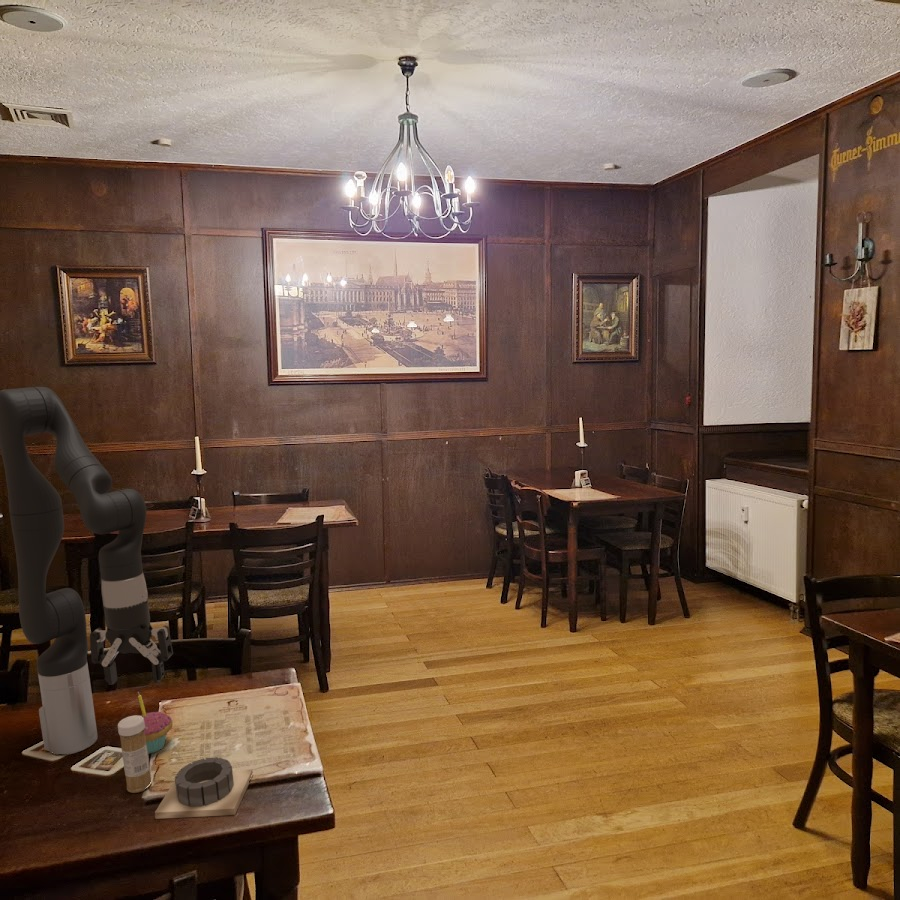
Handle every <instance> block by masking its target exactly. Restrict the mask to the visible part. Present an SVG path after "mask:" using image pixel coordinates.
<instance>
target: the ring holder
mask: <svg viewBox="0 0 900 900" xmlns="http://www.w3.org/2000/svg"><path fill="white" fill-rule="evenodd" d="M252 773H254V772H253V769H252V768H250V769H233V766H232V764H231V763H230V761H229V760H228V759H225V758H222V757H217V756H216V757H205V758H202V759H197V760H195V761H192V762H190V763H188V764H186V765H184V766H183V767H181V768H180V770H178V772H177V774H176V775H175V777H174V781H173V783H172V784H171V786H170V788H169V789H168V791H167V792H166V794H165V795H164V797H163V798H162V800H161V802H160V803H159V805H158V807H157V808H156V810H155V811H154V817H155V819H156V820H157V819H158V820H159V819H161V820H162V819H179V818H181V819H182V818H197V817H198V818H201V817H219V816H221V817H222V816H223V817H224V816H235V815H236V813H237V811H238V809H239V807H240V805H241V802H242V800H243V798H244V796H245V793H246V791H247V789H248V787H249V785H250V783H249V780H250V778H251V775H252ZM251 779H252V778H251Z"/></svg>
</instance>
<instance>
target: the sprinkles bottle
mask: <svg viewBox="0 0 900 900" xmlns="http://www.w3.org/2000/svg"><path fill="white" fill-rule="evenodd" d="M144 730H145V723H144V718H143V717H142V716H140V715H130V716H126V717H124V718H122V719H121V720H119V722H118V723H117V731H118V735H119V737H120V738H119V739H120V746H121V753H122V754H121V755H122V762H123V763H122V764H123V768H124V774H125V781H126V791H127V792H129V793H132V794H136V793H137V794H138V793H141V792H144V791H145V790H144V789H145V788H146V787H147V786H148V785H149V784H150V782H151V779H152V775H151V770H150V766H151V765H150V764H151V763H150V758H149V757H150V755H149V754H148V751H147V744H146V738H145V731H144Z"/></svg>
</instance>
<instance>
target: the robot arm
mask: <svg viewBox="0 0 900 900" xmlns="http://www.w3.org/2000/svg"><path fill="white" fill-rule="evenodd" d="M46 433H49V434H50V435H52V436H53V437H54V438H55V439H56V447H55V452H54V456H53V457H54V462H53V463H54V464H53V465H54V468H55V472H56V474H57V475H58V477H59V478H60V480H61V481H62V482H63V484H64V485H65V487H66V488H68V489H69V491H70V492H71V494H72V495H73V497H74V499H75V501H76V504H77V506H78V509H79V513H80V516H81V521H82V523H83V524H84V526H85V528H86V529H87V530H88V531H89V532H91V533H93V534H96V535H106V534H110V533H111V534H112V533H113V532H118V533H117V536H116V538H115V539H113V540H112V541H111V542H109V543H107V544H105V545H104V546H102V547H101V548H100V549H99V552H98V562H99V570H100V578H101V580H100V581H101V597H102V605H103V612H104V619H105V620H104V622H105V623H104V624H105V626H106V630H103V629H102V628H101V627H97V628H96V629H95V630H94V631H92V632H91V633H90V634H89V642H90V654H91V655H90V658H91V663H92V664H99V665H101V666H102V667H103V674H104V679H105V682H106V683H107V684H108V685H109V686H110V685H114V684H116V683H117V681H118V673H117V666H116V665H117V664H116V661H115V658H116V657H117V655H118V654H119V653H120V654H121V655H125V654H129V653H130V654H139V653H140V654H141V655H142V656H143V657H145V658H146V659H148V660H149V661H150V662H151V670H152V678H153V684H159V683H160V682H161V681H162V679H163V678H164V677H165V666H164V665H165V664H164V662H167V661H169V659H170V658H171V657H172V656H173V655H174V650H173V646H172V640H171V635H170V634H171V632H170V629H169V626H168V625H163V626H161V627H158V628H157V627H156V628H153V627H152V625H151V615H150V606H149V597H148V594H149V593H148V589H147V583H146V578H145V574H144V570H143V569H144V567H143V562H142V561H143V560H142V552H141V551H142V546H143V545H142V543H143V538H144V537H143V536H144V532H145V525H146V520H147V506H146V502H145V499H144V497H143V496H142V495H141V493H140V492H139V491H137V490H136V489H133V488H124V489H120V490H115V491H111V489H112V486H113V479H112V476H111V474H110V472H109V471H108V470H107V469H106V468H105V466H103V464H101V462H100V461H99V459H97V457H96V456H95V455H94V454H93V453H92V451H90V449H89V447H88V446H87V445H86V443H85V441H84V439H83V438H82V436H81V434H80V432H79V430H78V428H77V426H76V424H75V423H74V421H73V419H72V417H71V416H70V414H69V412H68V411H67V409H66V407H65V405H64V403H63V402H62V400H61V398H60V397H59V396H58V394H57V393H56V392H55V391H54V390H53V389H52V388H49V387H46V386H29V387H18V388H17V387H16V388H10V389H9V388H8V389H7V388H6V389H2V390H0V453H1V457H2V458H1V459H2V463H3V468H4V471H5V472H4V473H5V480H6V487H7V497H8V498H7V499H8V508H9V509H8V510H9V519H10V525H11V532H12V536H13V543H14V544H13V545H14V549H15V557H16V566H17V580H18V581H17V585H18V586H17V588H18V589H17V590H18V611H19V612H18V615H19V621H20V626H21V630H22V632H23V635H24V637H25V638H26V640H27V641H28V642H29V643H30V644H34V645H40V644H45V643H47V642H49V641H53V640H54V641H53V642H52V644H51V645H50V646H49V647H48V648H47V649H46V650H45V651H44V652H42V653H41V654H40V655H39V656H38V658H37V660H36V669H37V675H38V683H39V687H40V688H39V690H40V697H41V703H42V706H41V707H39V709H38V714H39V722H40V729H41V734H42V741H43V747H44V751H45V750H48V751H51V752H53V753H55V754H67V755H72V754H77V753H79V752H81V751H84V750H86V749H87V748H90V747H91V746H92V745H94V744H95V743H97V740H98V739H99V738H98V729H97V722H96V715H95V714H96V713H95V707H94V700H93V693H92V685H91V677H90V671H89V665H88V658H87V655H88V650H89V649H88V648H89V643H88V633H87V632H88V631H87V621H86V620H87V619H86V610H85V606H84V603H83V600H82V597H81V596H80V594H79V593H78V592H77V591H76V590H74V589H73V588H70V587H65V588H60V589H58V590H55V591H54V590H53V591H51V592H48V593H46V592H47V591H46V589H47V576H48V571H49V569H50V567H51V564H52V561H53V559H54V558H55V555H56V553H57V551H58V549H59V546H60V544H61V541H62V539H63V536H64V533H65V518H64V510H63V502H62V498H61V496H60V493H59V492H58V491H57V489H56V488H55V487H54V486H53V484H52V483H51V482H50V481H49V480H48V479H47V478H46V477H45V476H44V475H43V473H42V472H41V471H40V470H39V469H38V468H37V467H36V466H35V464H34V463H33V461H32V460H31V458H30V456H29V452H28V450H27V446H26V441H25V436H31V435H37V434H38V435H40V434H46ZM152 637H155V640H156V641H158V645H157V644H156V643H155V642H154V640H153V639H152ZM105 640H107V641H108V642H109V643H110V644H111V646H110V648H109V650H108V651H107V652H106V653H105V646H104V642H105ZM158 646H159V648H158ZM51 752H50V753H51ZM55 754H54V755H55Z"/></svg>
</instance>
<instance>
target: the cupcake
mask: <svg viewBox="0 0 900 900" xmlns="http://www.w3.org/2000/svg"><path fill="white" fill-rule="evenodd" d="M137 694H138V696H137V698H138V702H139V706H140V709H141V715H139V716H142V717H143V718H144V723H145V730H144V731H145V738H146V744H147V751H148V755H150V754H154V753H157V752H159V751H160V749H161V750H162V749H163V748H164V747H165V742H166V738H167V735H168V733H169V732H170V730H171V729H172V728H173V725H174V724H173V720H172V718H171V716H170V715H168V714H167V713H163V712H161V711H151V712H146V708H145V705H144V704H145V703H144V701H143V697H142V695H141V694H140V692H139V691H137Z"/></svg>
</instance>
